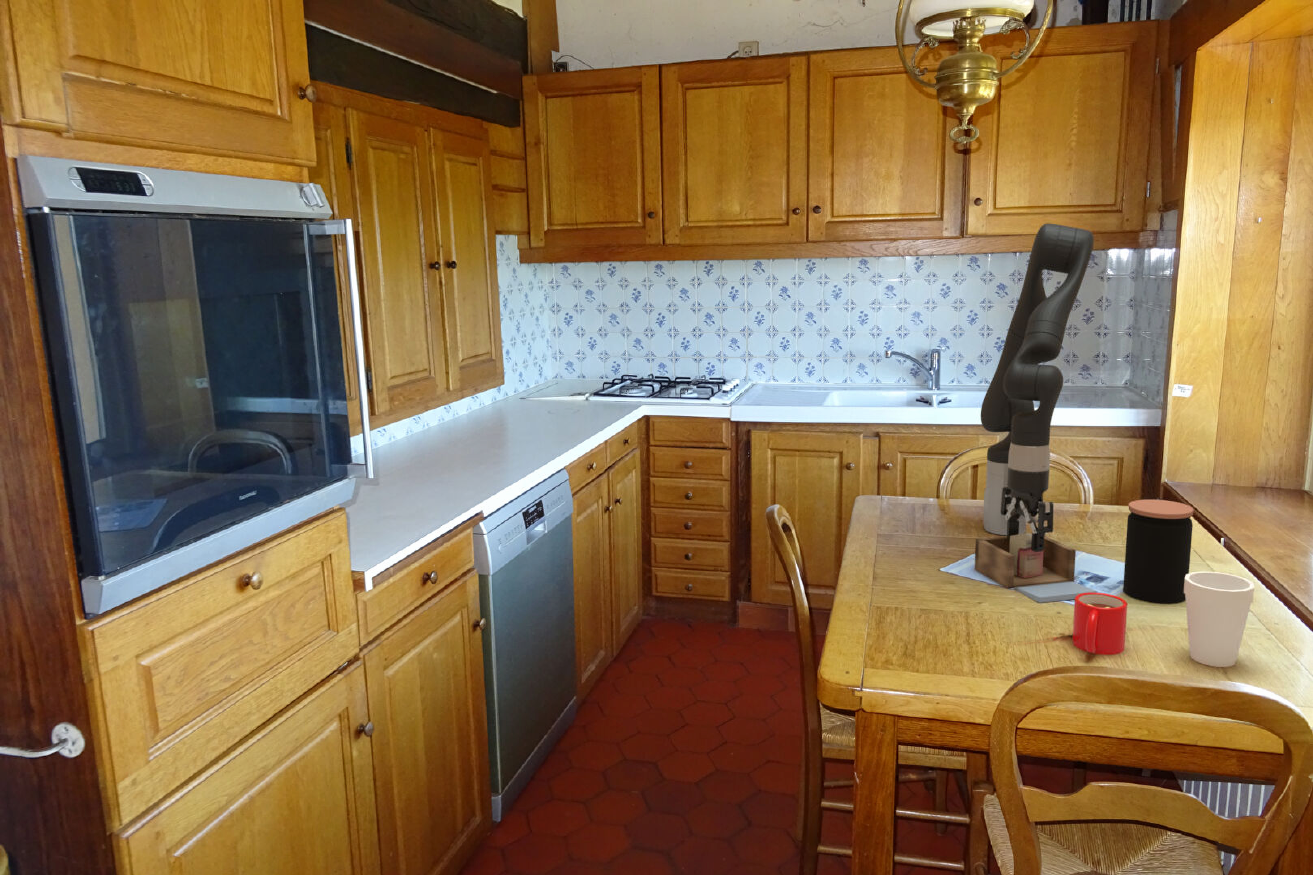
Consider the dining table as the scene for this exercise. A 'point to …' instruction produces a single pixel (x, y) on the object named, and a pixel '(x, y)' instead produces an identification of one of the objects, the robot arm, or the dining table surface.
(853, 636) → the dining table surface
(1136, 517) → the coffee jar
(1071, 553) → the open wooden box
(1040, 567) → the small box
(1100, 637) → the mug
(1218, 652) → the foam cup
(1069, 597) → the panel
